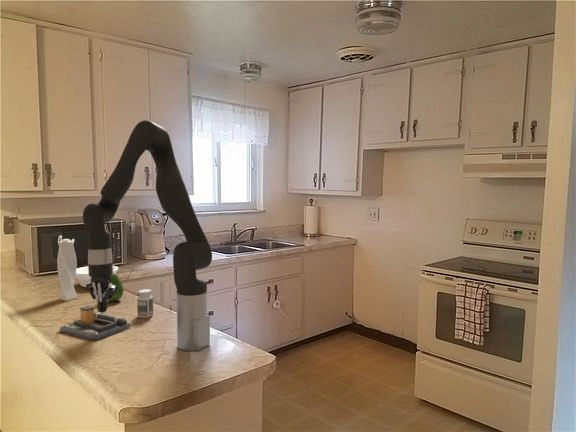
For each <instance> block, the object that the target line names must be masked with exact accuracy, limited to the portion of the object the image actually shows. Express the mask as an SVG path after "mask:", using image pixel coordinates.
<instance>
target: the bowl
mask: <svg viewBox="0 0 576 432" xmlns="http://www.w3.org/2000/svg"><path fill="white" fill-rule="evenodd" d="M118 270H119V267H118V266H116V265H113V274H116V275H117V273H118ZM76 279H77V280H78V281H79V284H80V286H81V287H83V288H87V287H86V284H89V283H90V282H91V277H90V276H89V272H88V265H87V266H83V267H77V269H76V277H75V280H76Z"/></svg>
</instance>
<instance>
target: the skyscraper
mask: <svg viewBox="0 0 576 432" xmlns="http://www.w3.org/2000/svg"><path fill="white" fill-rule="evenodd" d="M57 244H58V253H57V260H56V261H57V262H56V263H57V274H58V279H59V283H60V284H59V285H60V291H59V296H58V300H62V301H66V302H68V301H70V300H71V301H72V300H76V299H78V294H77V292H76V287H75V286H74V284H75V282H76V281H75V280H76V278H75V277H76V269H77V268H78V266H77V265H78V263H77V261H78V260H77V255H76V250H75V247H74V244H75V239H74V238H72V239H70V238H64V239H63V235H59V236H58V239H57Z"/></svg>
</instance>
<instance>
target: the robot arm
mask: <svg viewBox="0 0 576 432" xmlns="http://www.w3.org/2000/svg"><path fill="white" fill-rule="evenodd" d="M146 151H147V152H149V153H150V155H151V157H152V159H153V163H154V165H155V167H156V168H155V169H156V177H155V178H156V179H155V191H156V192H155V193H156V195H157V197H158V200H159V204H160V207H161V208H162V210H163V212H164V213H165V214H166V215H167V216H168V217H169V218H170V220H172V221H173V222H174V223H175V224H176V226H177V227H179V228H180V230H181V232H182V234H183V236H184V238H185V240H186V241H184V242H180V243H177V244H176V246H175V247H174V250H173V253H172V265H173V266H172V268H173V278H174V279H173V281H174V284H175V288H176V330H177V331H176V333H177V336H176V338H177V339H176V340H177V348H178V350H181V351H186V352H187V351H188V352H189V351H196V352H198V351H199V352H200V350H202V349H204V348H206V347H208V346H209V345H210V344H211V337H210V336H211V330H210V329H211V328H210V326H211V323H210V322H211V320H210V317H211V316H210V315H209V314H208V284H207V282H206V281H204V280H202V279H198V278H197V271H198V270H202V269H205V268H208V267H210V265H211V263H212V261H213V252H212V248H211V245H210V243H209V241H208V238H207V237H206V235H205V232H204V230H203V229H202V226H201V224H200V222H199V220H198V217H197V215H196V212H195V210H194V207H193V205H192V202H191V198H190V195H189V192H188V190H187V189H188V188H187V187H186V185H185V182H184V179H183V176H182V173H181V172H180V171H181V170H180V169H179V166H178V164H177V161H176V157H175V153H174V148H173V145H172V141H171V137H170V133H169V132H168V131H167V130H166V129H165V128H164V127H163V126H161V125H159V124H157V123H155V122H154V121H150V120H141V121H139V122H138V123H137V124H136V125H135V126H134V128H133V130H132V131H131V132H130V136H129V137H128V139H127V142H126V144H125V147H124V148H123V151H122V153H121V155H120V158H119V159H118V162H117V164H116V166H115V168H114V169H113V171H112V173H111V174H110V176H109V177H108V179H107V180H106V182H105V183H104V185H103V186H102V188H101V189H100V195H101V199H100V200H99V202H93V203H89V204H87V205H86V206H85V207H84V209H83V212H82V222H83V225H84V228H85V229H84V230H85V232H86V235H87V241H88V242H87V243H88V245H87V246H88V251H87V264H88V265H87V266H88V272H89V276H90V277H91V282H90V283H89V284H86V287H85V288H87V290H88V292H89V295H90V296H91V298H92V299H93V300H95V301H96V302H97V312H98V313H103V314H104V313H106V312H107V309H108V305H107V301H109V299H111V298H112V296H113V295H114V293H115V291H116V289H117V286H113V285H112V280H111V275H112V274H113V266H114V265H113V251H112V236H111V233H110V231H108V230H106V228H105V226H106V225H105V224H106V223H109V222H110V221H111V220H112V219H113V218H114V217H115V216H116V213H117V212H118V209H119V206H120V204H121V201H122V199H123V198H124V197H125V195H126V194H127V192H128V191H129V189H130V187H131V186H132V184H133V181H134V177H135V174H136V173H135V172H136V167H137V164H138V161H140V158H141V156H142V155H143V154H144V152H146Z"/></svg>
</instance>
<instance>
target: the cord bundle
mask: <svg viewBox="0 0 576 432" xmlns="http://www.w3.org/2000/svg"><path fill="white" fill-rule="evenodd" d="M94 317H95V318H99V319H104V320H108V321H112V322H117V324H119V325H124V324H126V323H128V320H127V319H126V318H123V317H122V316H116V315H111V314H106V313H104V312H103V313H100V312H98V311H94Z"/></svg>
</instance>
